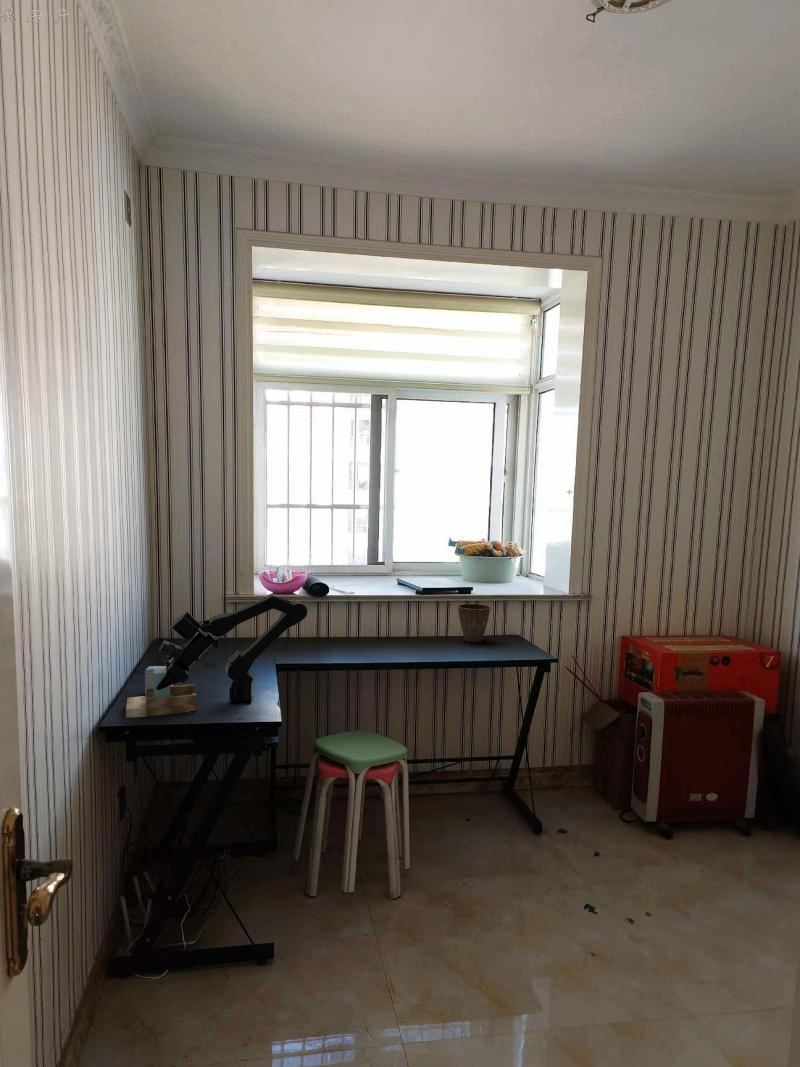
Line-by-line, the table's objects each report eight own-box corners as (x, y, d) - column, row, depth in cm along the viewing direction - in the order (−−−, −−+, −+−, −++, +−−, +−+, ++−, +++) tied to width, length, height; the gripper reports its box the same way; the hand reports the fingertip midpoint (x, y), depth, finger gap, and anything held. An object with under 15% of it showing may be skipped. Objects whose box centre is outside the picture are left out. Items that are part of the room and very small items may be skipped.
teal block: (169, 697, 204) (169, 669, 204) (170, 701, 200) (169, 672, 199) (154, 698, 202) (154, 670, 202) (154, 703, 198) (154, 674, 198)
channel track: (195, 699, 210) (195, 684, 210) (197, 711, 199) (197, 695, 199) (127, 705, 203) (127, 689, 203) (126, 718, 192) (125, 701, 192)
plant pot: (453, 637, 309) (454, 603, 308) (483, 636, 312) (484, 603, 311) (461, 644, 295) (462, 609, 294) (493, 644, 297) (494, 609, 296)
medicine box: (173, 691, 218) (173, 666, 218) (169, 695, 214) (169, 669, 213) (149, 691, 218) (149, 665, 218) (144, 695, 214) (144, 669, 213)
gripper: (174, 626, 210) (137, 662, 207) (176, 638, 193) (136, 678, 189) (200, 648, 213) (164, 684, 210) (204, 662, 196) (165, 702, 193)
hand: (157, 687), depth 200 cm, fingers closed on teal block, 4 cm apart
